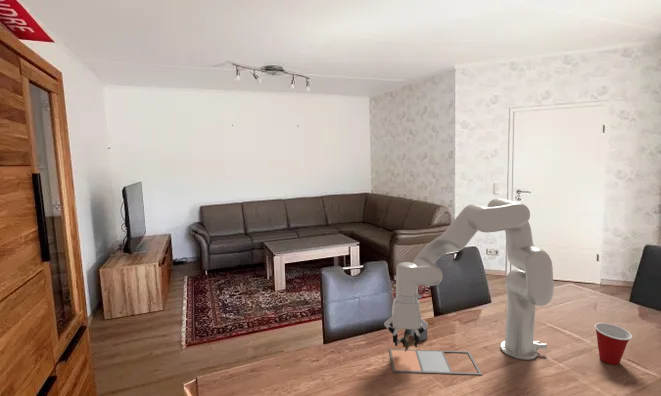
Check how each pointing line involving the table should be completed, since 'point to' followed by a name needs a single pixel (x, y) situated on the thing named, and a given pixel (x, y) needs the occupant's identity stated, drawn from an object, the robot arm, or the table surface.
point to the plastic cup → (611, 342)
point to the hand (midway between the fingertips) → (405, 344)
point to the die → (422, 336)
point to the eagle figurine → (406, 339)
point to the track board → (424, 361)
